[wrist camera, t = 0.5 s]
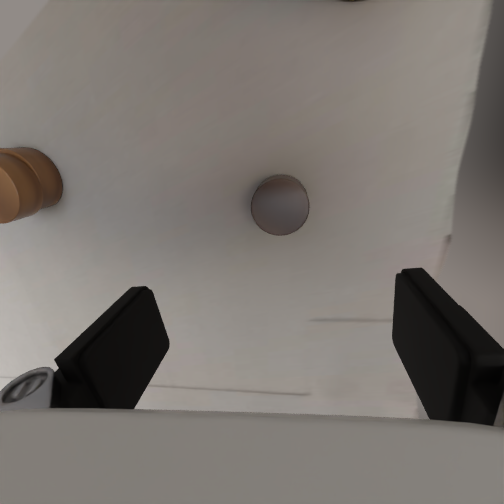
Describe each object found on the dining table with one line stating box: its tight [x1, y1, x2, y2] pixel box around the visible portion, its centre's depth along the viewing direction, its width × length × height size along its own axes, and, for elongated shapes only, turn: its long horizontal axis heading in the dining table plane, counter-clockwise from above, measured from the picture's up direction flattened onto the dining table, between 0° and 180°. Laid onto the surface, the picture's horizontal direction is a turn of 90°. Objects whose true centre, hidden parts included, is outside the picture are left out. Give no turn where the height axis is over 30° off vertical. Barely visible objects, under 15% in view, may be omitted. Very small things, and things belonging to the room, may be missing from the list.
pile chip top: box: [0, 153, 43, 223], centre depth 25 cm, size 6×6×2 cm
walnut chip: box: [251, 175, 309, 235], centre depth 24 cm, size 5×5×2 cm
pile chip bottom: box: [0, 147, 62, 209], centre depth 27 cm, size 6×6×2 cm
